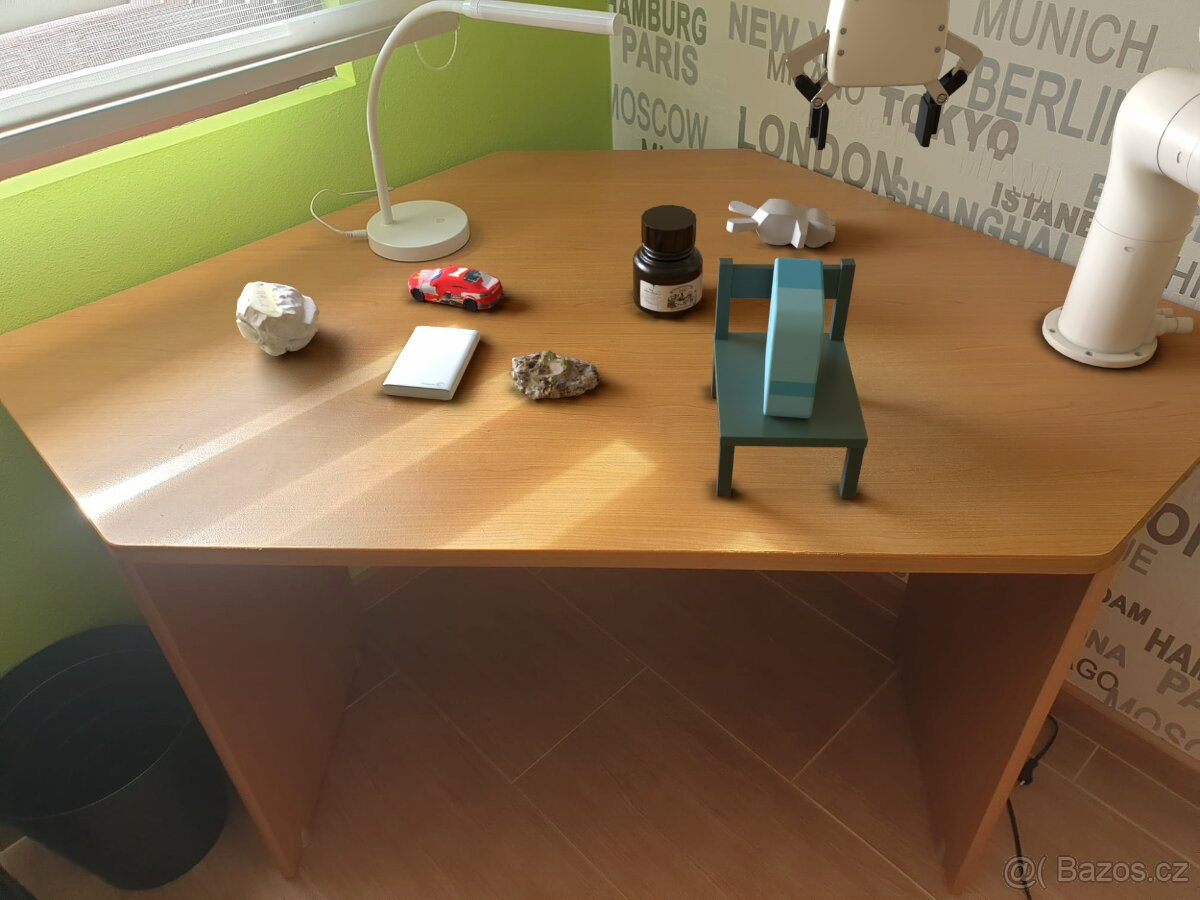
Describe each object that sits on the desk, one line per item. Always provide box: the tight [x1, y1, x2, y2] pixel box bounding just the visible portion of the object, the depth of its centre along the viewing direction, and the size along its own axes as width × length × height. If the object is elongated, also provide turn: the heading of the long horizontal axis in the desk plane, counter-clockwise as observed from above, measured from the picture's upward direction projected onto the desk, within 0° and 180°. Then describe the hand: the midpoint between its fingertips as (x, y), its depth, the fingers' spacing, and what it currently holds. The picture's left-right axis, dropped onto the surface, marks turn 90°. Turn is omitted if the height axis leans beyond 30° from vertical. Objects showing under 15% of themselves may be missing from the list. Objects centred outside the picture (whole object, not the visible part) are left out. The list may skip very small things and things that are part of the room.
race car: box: [407, 264, 505, 312], centre depth 126 cm, size 13×5×4 cm, turn 68°
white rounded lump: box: [235, 281, 320, 357], centre depth 117 cm, size 12×8×10 cm
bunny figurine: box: [726, 198, 836, 249], centre depth 135 cm, size 10×5×15 cm
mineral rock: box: [510, 349, 602, 400], centre depth 111 cm, size 11×4×8 cm
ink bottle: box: [632, 204, 704, 319], centre depth 121 cm, size 10×9×12 cm
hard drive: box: [382, 325, 481, 401], centre depth 115 cm, size 2×8×12 cm
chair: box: [710, 257, 869, 500], centre depth 97 cm, size 14×18×17 cm
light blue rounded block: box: [764, 257, 826, 418], centre depth 93 cm, size 12×4×12 cm, turn 171°
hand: (869, 143), depth 91 cm, fingers open, 9 cm apart
